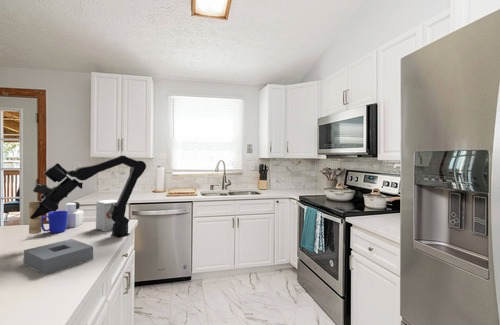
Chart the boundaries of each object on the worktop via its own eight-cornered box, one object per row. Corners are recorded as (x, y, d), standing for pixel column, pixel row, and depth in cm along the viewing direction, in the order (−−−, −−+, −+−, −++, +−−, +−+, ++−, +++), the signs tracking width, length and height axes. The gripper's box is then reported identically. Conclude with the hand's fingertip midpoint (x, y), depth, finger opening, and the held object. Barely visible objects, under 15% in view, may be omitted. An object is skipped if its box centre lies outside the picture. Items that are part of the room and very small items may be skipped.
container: (69, 223, 151) (69, 201, 151) (83, 223, 152) (83, 201, 151) (60, 227, 143) (61, 203, 143) (75, 227, 144) (75, 203, 144)
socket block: (71, 250, 110) (71, 238, 109) (93, 259, 102) (93, 246, 101) (23, 263, 96) (23, 250, 96) (44, 274, 88) (44, 259, 88)
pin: (38, 230, 113) (38, 200, 113) (43, 232, 111) (43, 201, 111) (27, 232, 110) (27, 202, 109) (31, 234, 108) (31, 203, 107)
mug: (35, 234, 129) (35, 214, 129) (61, 228, 141) (61, 210, 140) (46, 236, 126) (46, 216, 126) (71, 230, 138) (71, 211, 137)
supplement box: (104, 231, 138) (104, 203, 137) (95, 228, 142) (95, 201, 142) (120, 227, 145) (121, 201, 145) (111, 225, 150) (112, 199, 150)
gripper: (46, 175, 120) (13, 201, 113) (48, 178, 105) (11, 209, 98) (67, 191, 125) (37, 217, 118) (71, 196, 111) (38, 226, 104)
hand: (31, 217), depth 109 cm, fingers closed on pin, 4 cm apart
